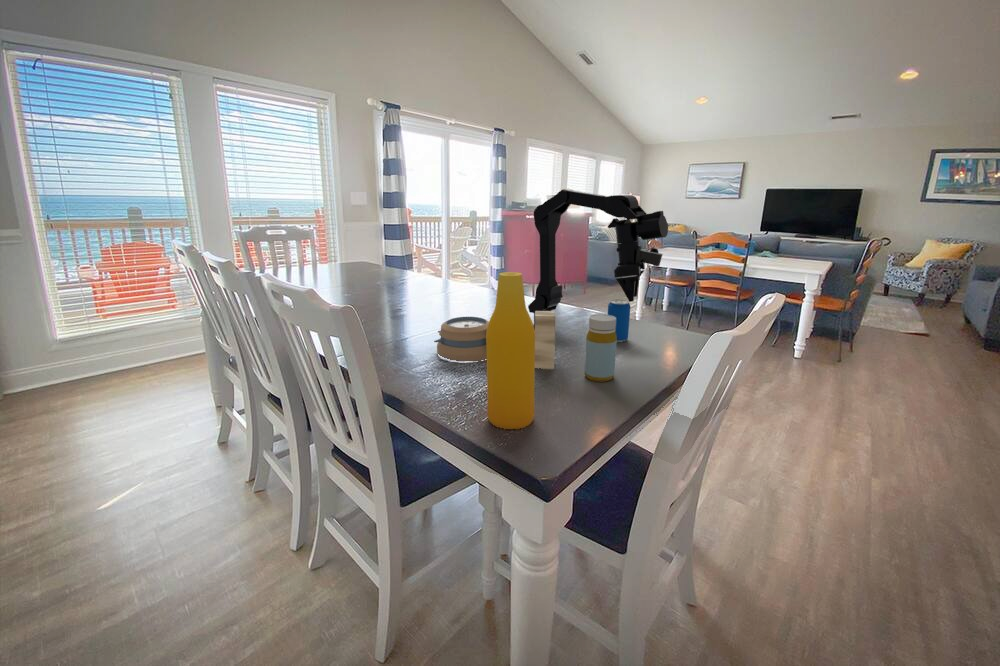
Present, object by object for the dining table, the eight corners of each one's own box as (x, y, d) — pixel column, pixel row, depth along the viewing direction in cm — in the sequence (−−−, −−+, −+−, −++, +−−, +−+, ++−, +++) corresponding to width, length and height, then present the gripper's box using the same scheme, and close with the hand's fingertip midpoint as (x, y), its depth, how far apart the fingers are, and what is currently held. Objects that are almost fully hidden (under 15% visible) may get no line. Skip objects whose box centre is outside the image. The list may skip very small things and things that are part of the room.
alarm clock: (438, 314, 131) (516, 313, 132) (440, 344, 134) (516, 342, 134) (431, 331, 115) (520, 329, 115) (433, 364, 118) (520, 363, 118)
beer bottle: (479, 425, 86) (475, 276, 77) (499, 405, 94) (497, 268, 85) (524, 435, 82) (525, 279, 74) (540, 413, 90) (543, 271, 82)
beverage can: (625, 336, 139) (628, 299, 135) (629, 343, 132) (632, 304, 129) (604, 336, 139) (607, 298, 136) (607, 342, 133) (609, 303, 130)
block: (534, 361, 119) (535, 310, 115) (553, 361, 118) (554, 310, 114) (534, 368, 114) (535, 315, 110) (554, 369, 113) (555, 316, 109)
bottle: (615, 373, 110) (619, 314, 106) (612, 384, 104) (616, 322, 100) (586, 370, 112) (589, 312, 108) (582, 380, 106) (585, 320, 102)
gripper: (657, 239, 110) (662, 301, 112) (660, 237, 126) (665, 291, 129) (611, 245, 114) (617, 305, 117) (620, 242, 131) (625, 295, 134)
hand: (633, 298), depth 124 cm, fingers open, 9 cm apart
